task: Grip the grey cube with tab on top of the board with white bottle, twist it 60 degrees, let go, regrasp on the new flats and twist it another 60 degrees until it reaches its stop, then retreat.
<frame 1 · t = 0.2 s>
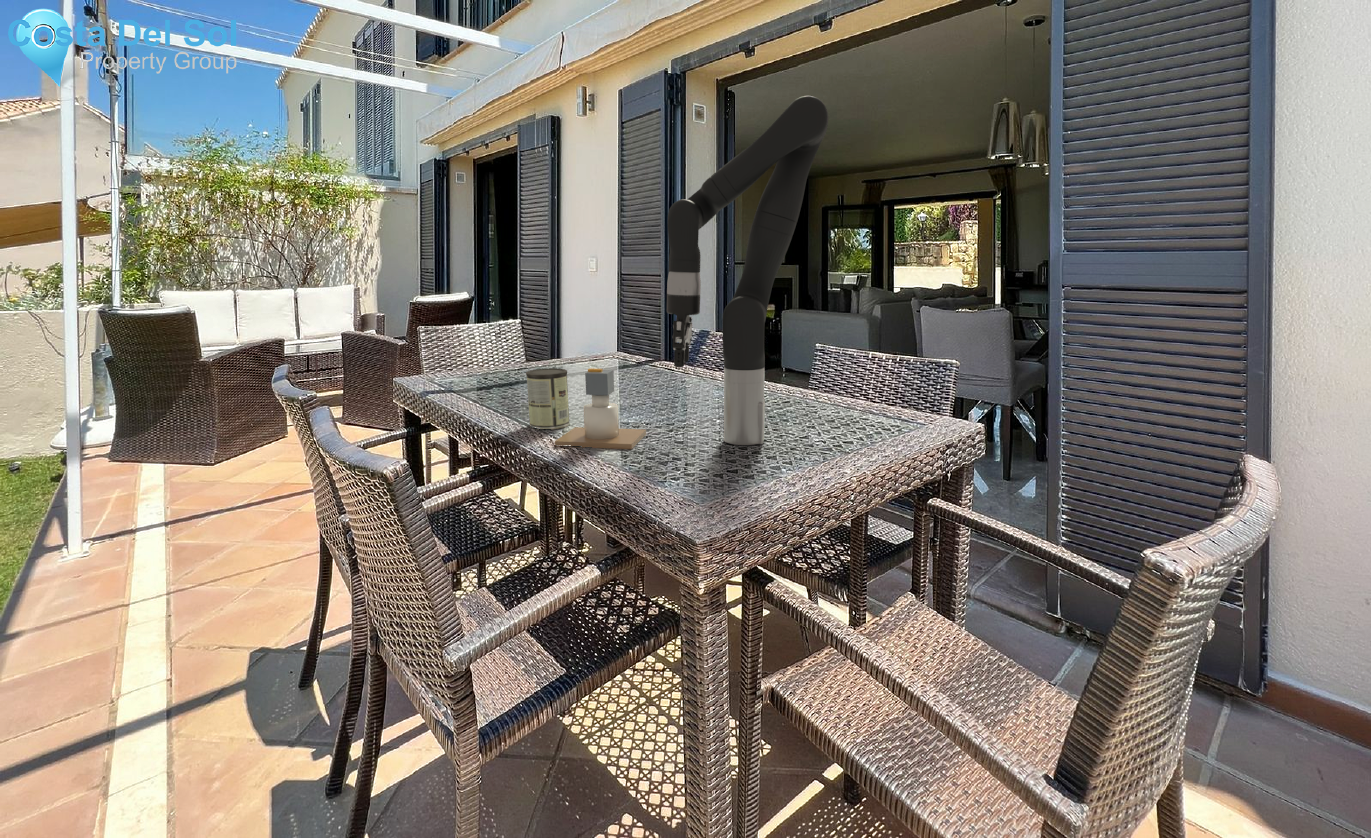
hand: (681, 364, 163), 18 cm above the table, tool pointing down, fingers open, 8 cm apart
coffee can: (549, 426, 182), on the table
board with white bottle: (602, 440, 167), on the table
grey cube with tab: (599, 381, 163), point 14 cm above the table, hinge at 0.0°
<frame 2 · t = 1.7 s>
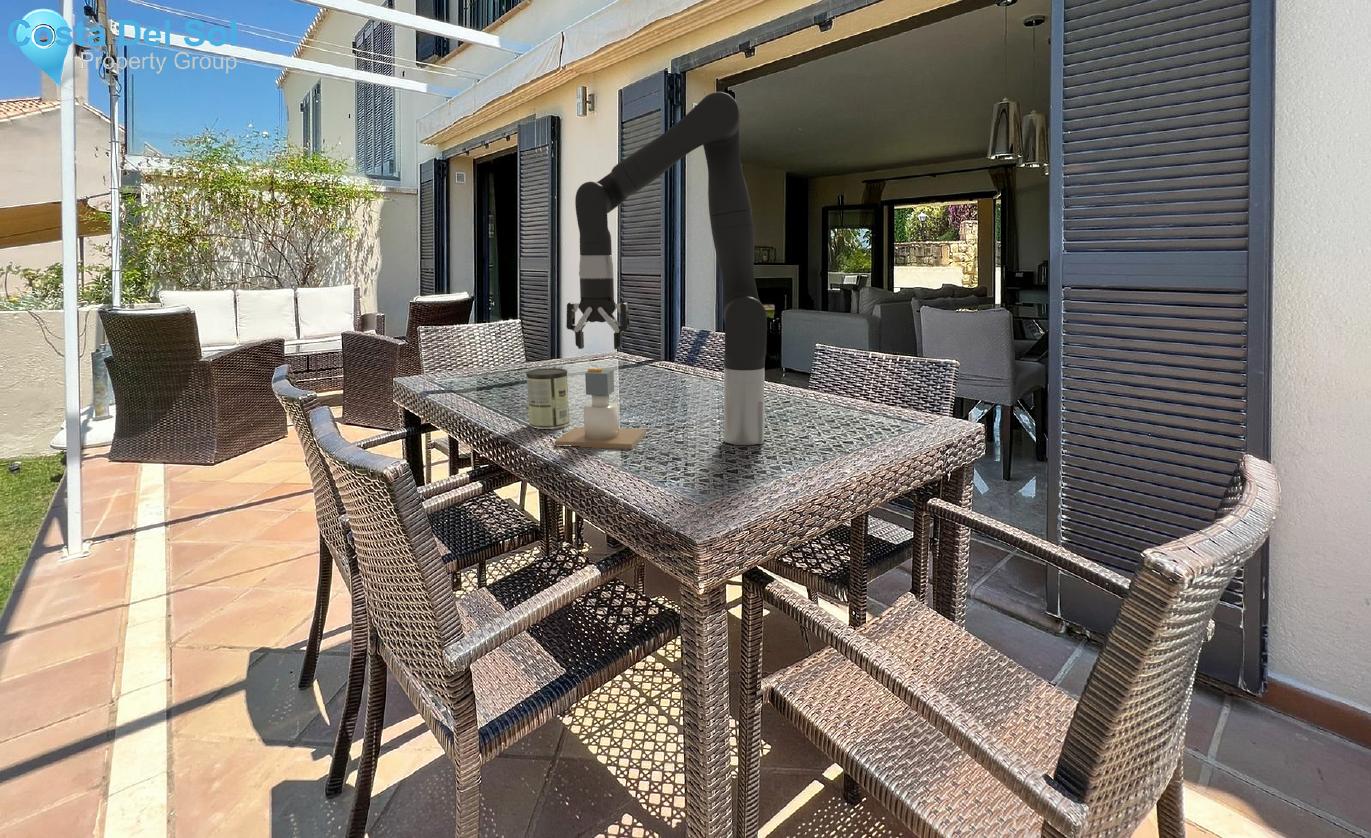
hand: (598, 348, 162), 22 cm above the table, tool pointing down, fingers open, 8 cm apart
nothing on the table moved.
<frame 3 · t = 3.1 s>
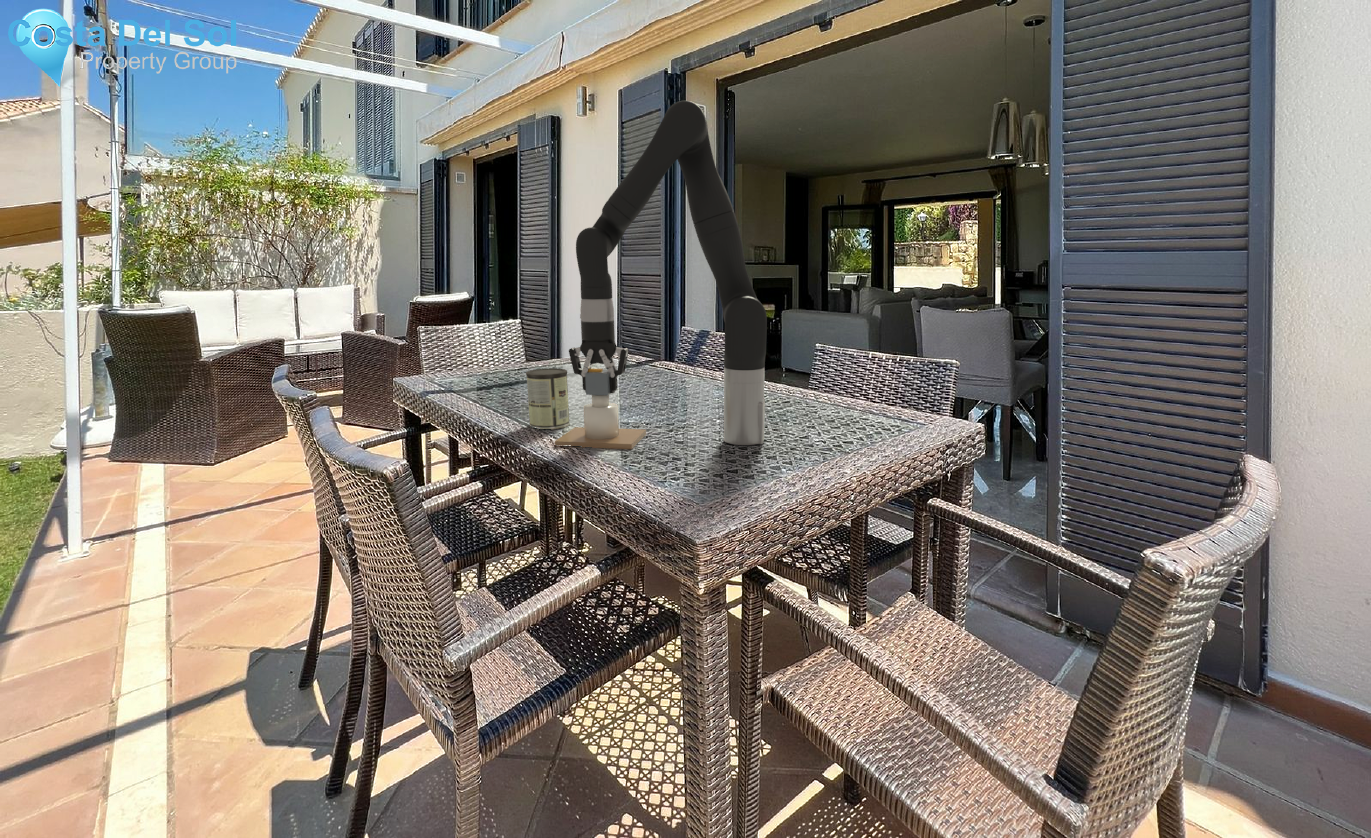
hand: (600, 392, 164), 11 cm above the table, tool pointing down, fingers closed on grey cube with tab, 5 cm apart
grey cube with tab: (599, 381, 163), point 14 cm above the table, hinge at 0.0°, touching gripper
everything else where it was.
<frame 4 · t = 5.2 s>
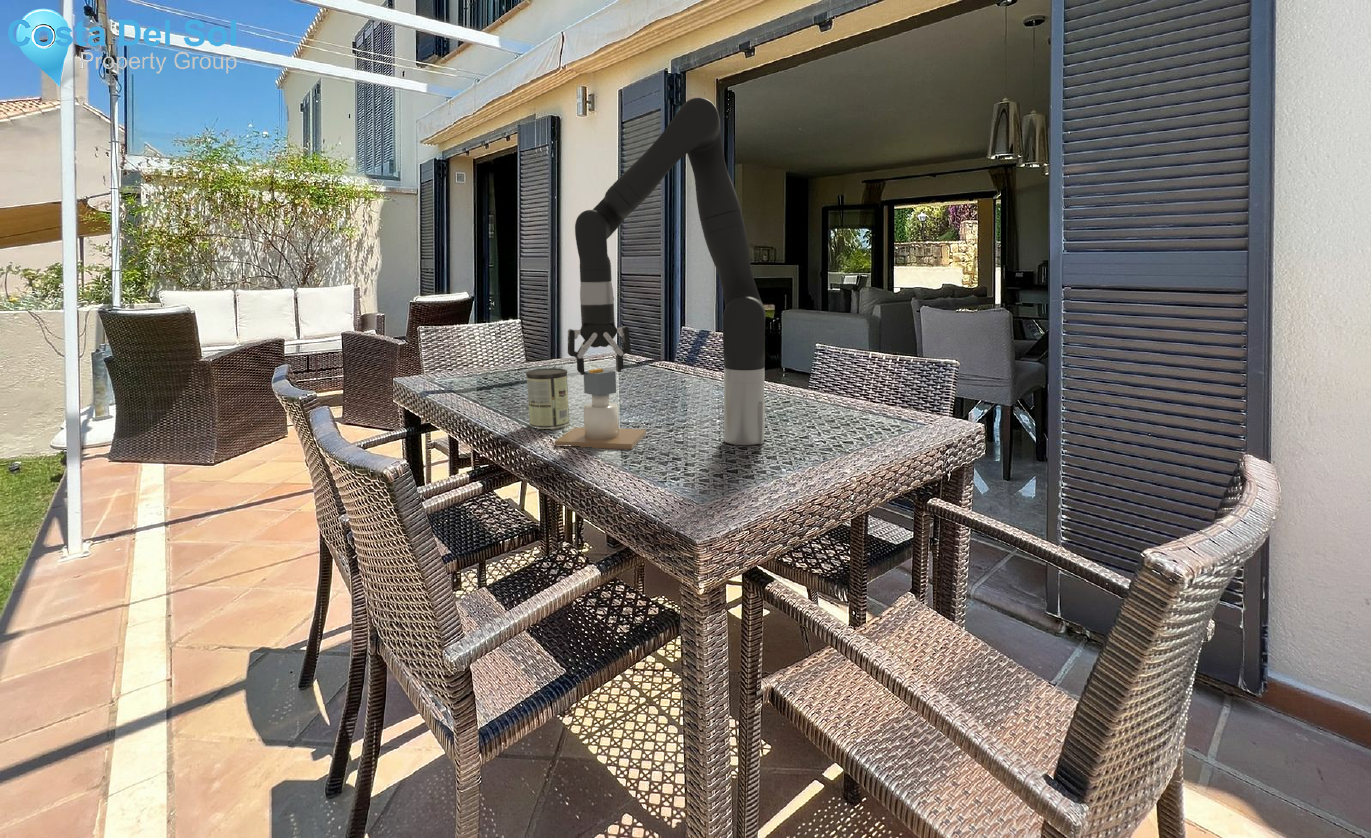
hand: (600, 373, 164), 16 cm above the table, tool pointing down, fingers open, 8 cm apart
grey cube with tab: (599, 381, 163), point 14 cm above the table, hinge at 57.5°, touching gripper
everything else where it was.
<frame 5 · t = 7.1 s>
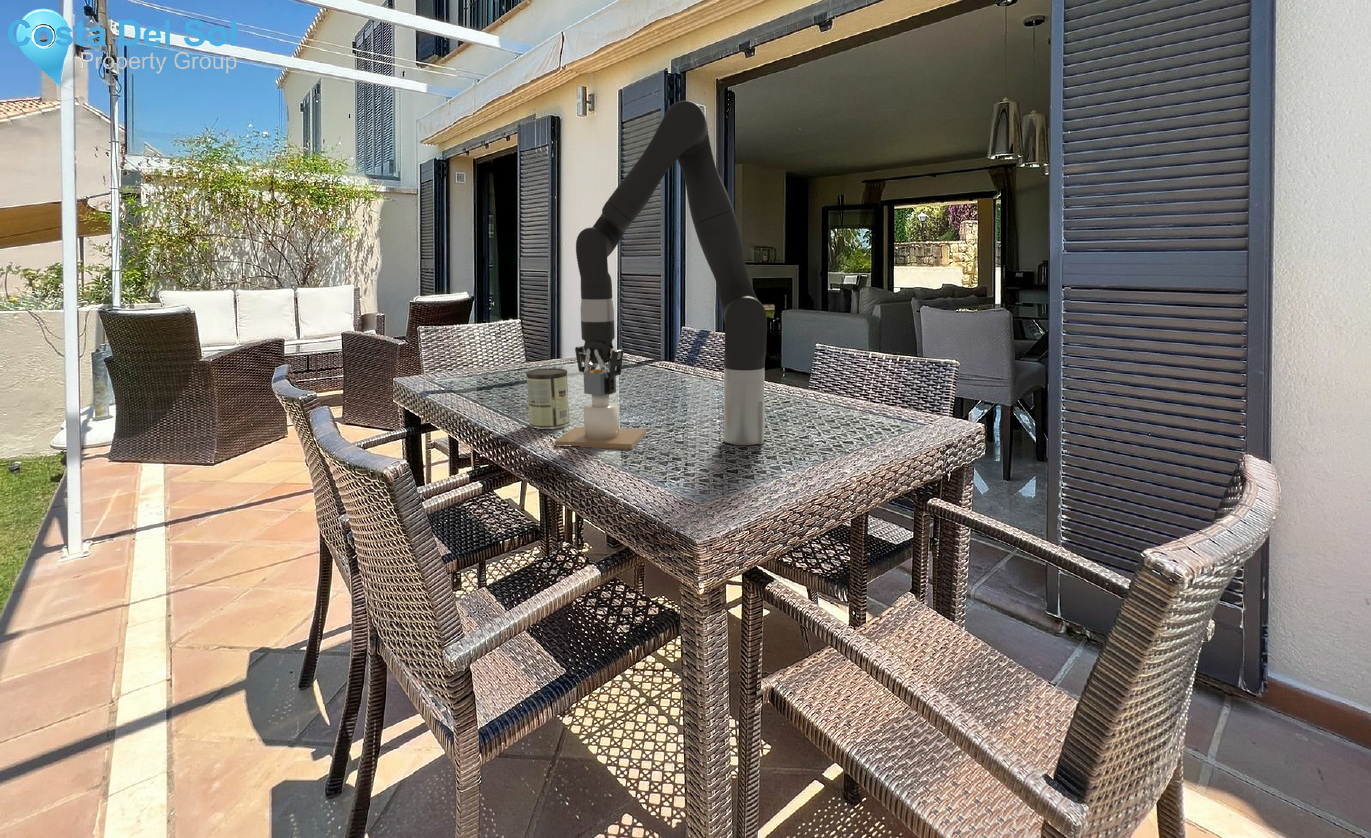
hand: (600, 392, 164), 11 cm above the table, tool pointing down, fingers closed on grey cube with tab, 5 cm apart
grey cube with tab: (599, 381, 163), point 14 cm above the table, hinge at 62.9°, touching gripper
everything else where it was.
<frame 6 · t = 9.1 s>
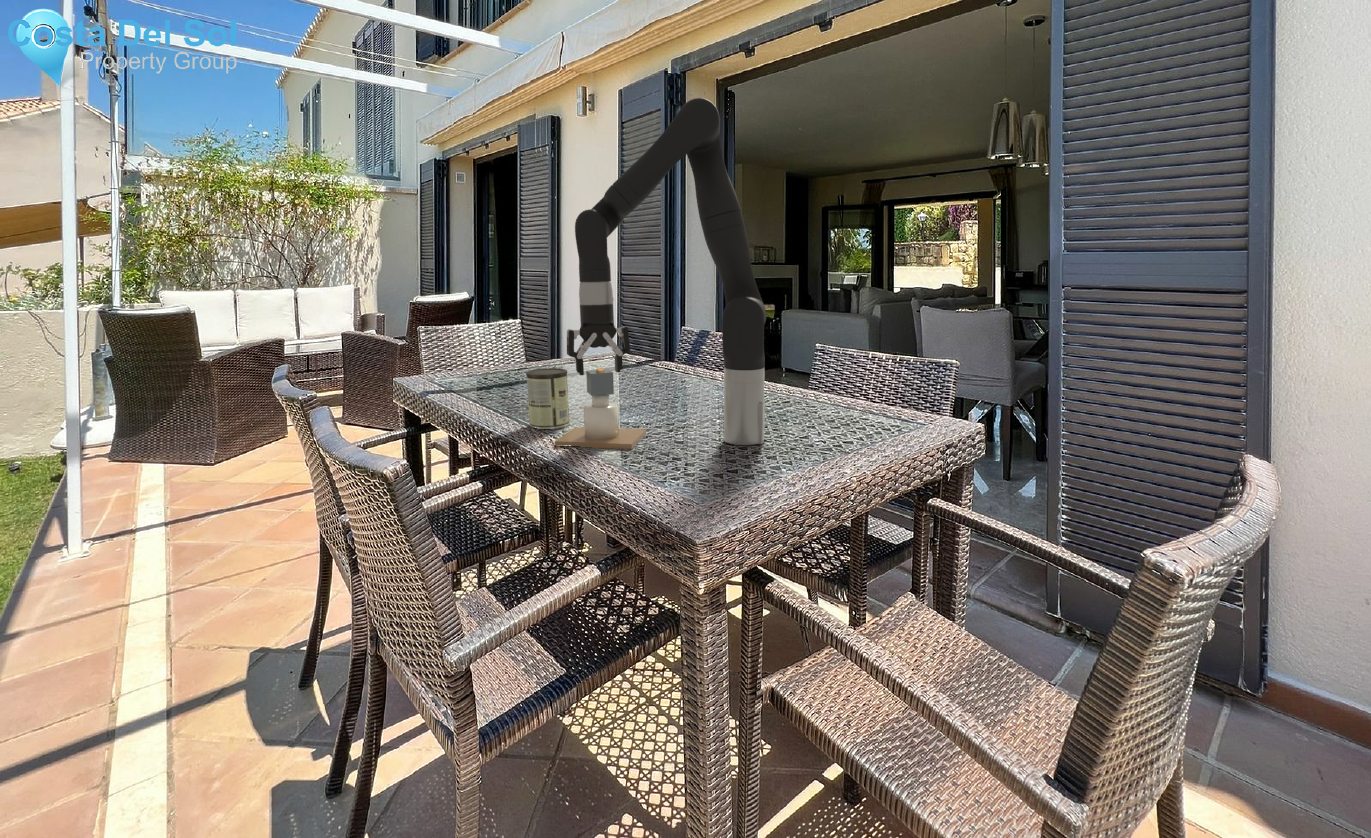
hand: (599, 373, 163), 16 cm above the table, tool pointing down, fingers open, 8 cm apart
grey cube with tab: (599, 381, 163), point 14 cm above the table, hinge at 118.9°
everything else where it was.
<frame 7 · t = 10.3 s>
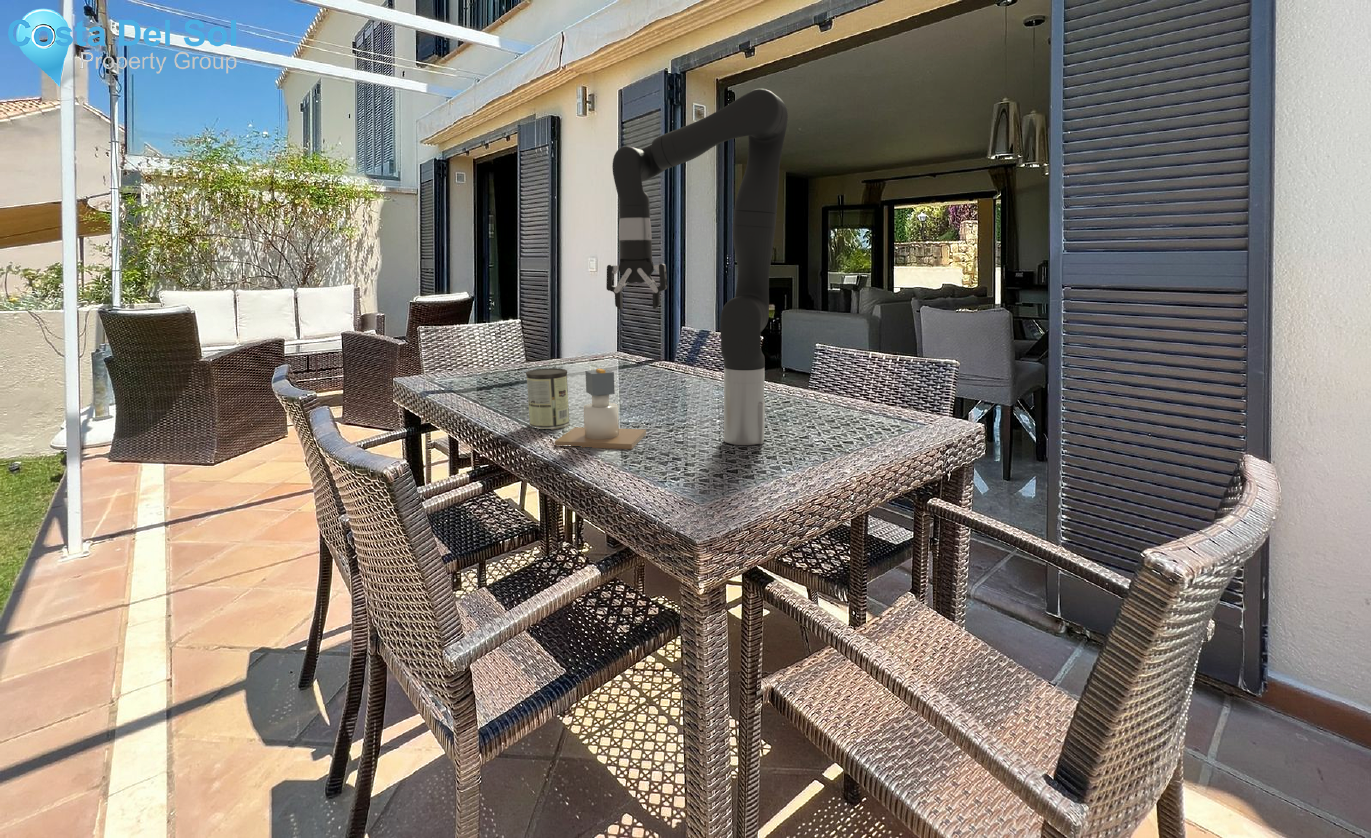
hand: (637, 309, 168), 30 cm above the table, tool pointing down, fingers open, 8 cm apart
grey cube with tab: (599, 381, 163), point 14 cm above the table, hinge at 124.6°
everything else where it was.
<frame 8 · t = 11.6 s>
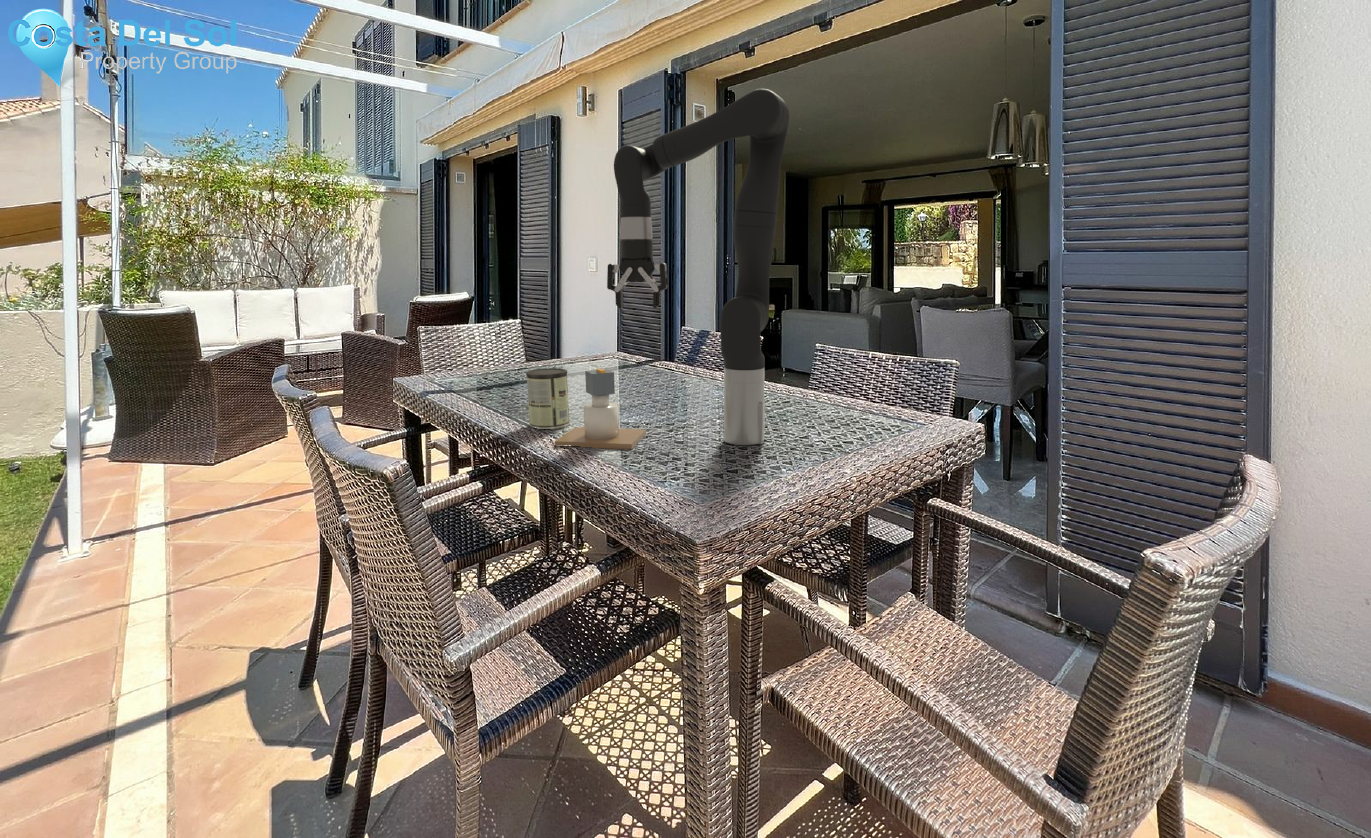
hand: (638, 308, 168), 30 cm above the table, tool pointing down, fingers open, 8 cm apart
grey cube with tab: (599, 381, 163), point 14 cm above the table, hinge at 126.1°
everything else where it was.
at the end: grey cube with tab at +126° (first picture: +0°); the gripper is holding nothing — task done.
